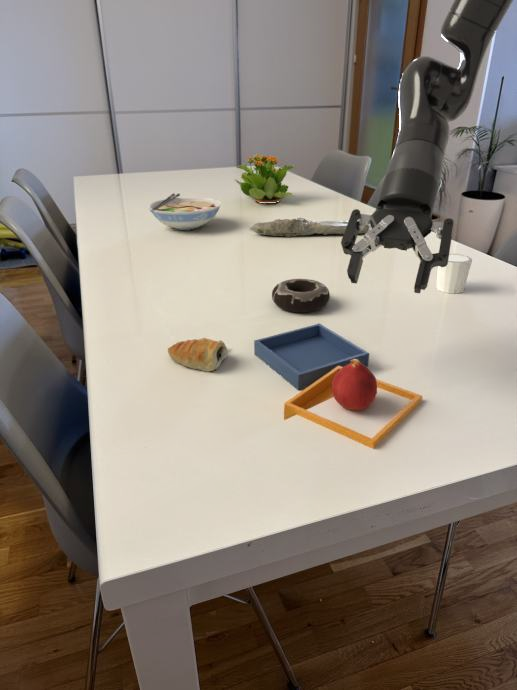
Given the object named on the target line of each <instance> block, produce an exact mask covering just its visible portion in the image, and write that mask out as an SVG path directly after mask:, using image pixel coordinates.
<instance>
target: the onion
mask: <svg viewBox="0 0 517 690" xmlns="http://www.w3.org/2000/svg"><path fill="white" fill-rule="evenodd" d="M350 362H351V364H348V365H346V366H344V367H342V368H341V369H340V370H339V371H338V372H337V374H336V375H335V376H334V378H333V382H332V394H333V396H334V397H333V398H334V400H335V401H336V403H337V404H339V405H340V406H341V407H343V408H344V409H345V410H349V411H353V412H354V411H355V412H358V411H359V412H360V411H363V410H365V409H367V408H368V407H369V406H371V404H373V402H374V401H375V399H376V397H377V393H378V387H377V381H376V379H377V378H376V376H375V375H374V373H373V372H372V370H370V368H369V367H368V368H367V367H366V366H365V365H363V364H362V363H361V362H360V361H359V360H358V359H353V360H350Z"/></svg>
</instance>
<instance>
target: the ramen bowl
mask: <svg viewBox="0 0 517 690" xmlns="http://www.w3.org/2000/svg"><path fill="white" fill-rule="evenodd" d="M221 205H222V202H221V201H220V200H218V199H216V198H215V199H214V198H208V197H197V196H196V197H195V196H191V197H181V194H180V193H177V194H176V193H171V194H170V195H169V196H168V197H166V198H165V199H160V200H156V201H153V202H150V203H149V204H148V205H147V208H148V209H149V211H150V213H151V214H152V215H153V216H154V217H155V219H157V220H158V221H159V223H161V224H163V225H165V226H168V227H171V228H174V229H176V230H178V231H192V230H196V229H198V228H199V227H202V226H203V225H205V224H207V223H209V222H211V221H212V220H213V219H214V218H216V215H217V214H218V212H219V210H220V208H221ZM195 228H196V229H195ZM191 229H192V230H191Z"/></svg>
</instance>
